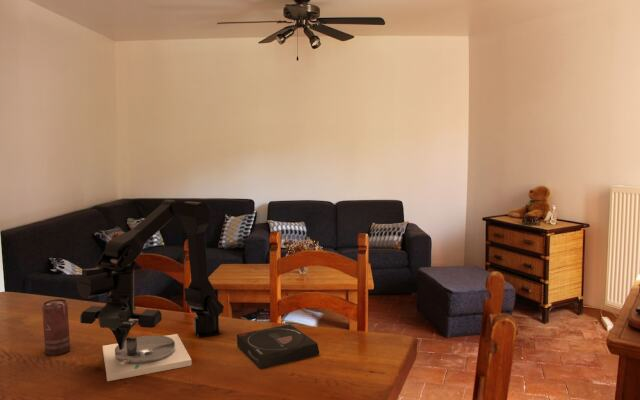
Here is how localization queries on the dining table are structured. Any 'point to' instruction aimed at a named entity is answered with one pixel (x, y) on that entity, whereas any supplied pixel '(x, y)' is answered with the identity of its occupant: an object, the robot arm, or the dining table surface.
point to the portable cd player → (276, 346)
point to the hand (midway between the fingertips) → (121, 349)
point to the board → (129, 370)
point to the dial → (145, 349)
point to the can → (56, 327)
